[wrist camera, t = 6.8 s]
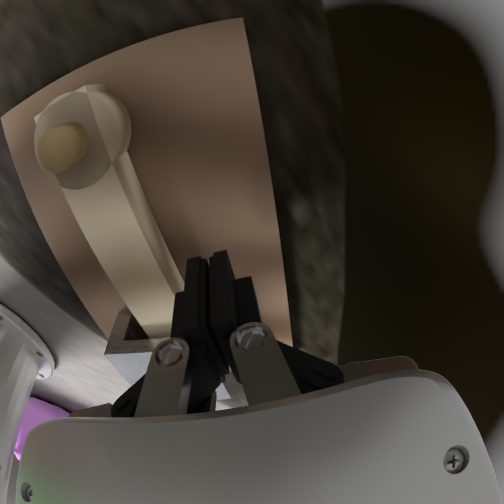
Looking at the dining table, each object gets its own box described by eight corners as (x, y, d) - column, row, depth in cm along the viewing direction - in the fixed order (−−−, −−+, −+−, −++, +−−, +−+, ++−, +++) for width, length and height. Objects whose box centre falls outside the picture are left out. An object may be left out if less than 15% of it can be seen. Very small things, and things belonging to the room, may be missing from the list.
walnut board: (292, 351, 23) (294, 360, 22) (140, 369, 23) (139, 378, 23) (241, 21, 10) (242, 17, 9) (10, 114, 10) (0, 117, 9)
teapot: (148, 446, 39) (144, 513, 27) (61, 432, 39) (51, 486, 27) (76, 388, 26) (55, 487, 15) (-11, 373, 26) (-34, 439, 15)
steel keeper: (229, 357, 21) (230, 398, 18) (154, 364, 21) (148, 402, 18) (206, 299, 18) (204, 346, 14) (117, 312, 18) (104, 354, 15)
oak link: (45, 113, 10) (4, 128, 7) (116, 73, 10) (81, 73, 7) (171, 351, 20) (166, 389, 17) (225, 343, 20) (226, 383, 17)
